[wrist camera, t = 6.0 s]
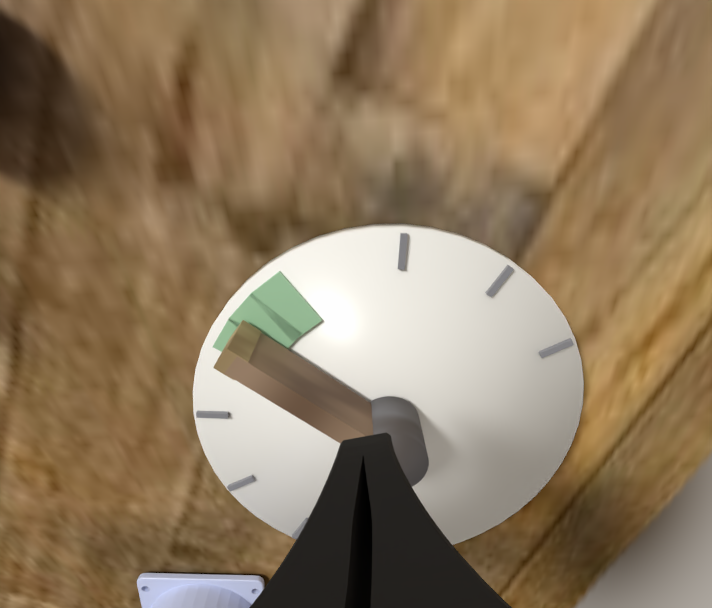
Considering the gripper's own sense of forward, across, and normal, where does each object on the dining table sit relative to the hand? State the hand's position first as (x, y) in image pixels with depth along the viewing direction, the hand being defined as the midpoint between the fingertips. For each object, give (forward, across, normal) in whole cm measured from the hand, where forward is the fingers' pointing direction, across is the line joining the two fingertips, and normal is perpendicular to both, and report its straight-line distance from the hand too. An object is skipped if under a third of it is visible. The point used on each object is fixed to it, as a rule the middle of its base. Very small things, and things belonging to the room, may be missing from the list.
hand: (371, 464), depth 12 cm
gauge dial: (+10, 0, +6) cm, 12 cm away
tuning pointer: (+9, +2, +3) cm, 10 cm away
